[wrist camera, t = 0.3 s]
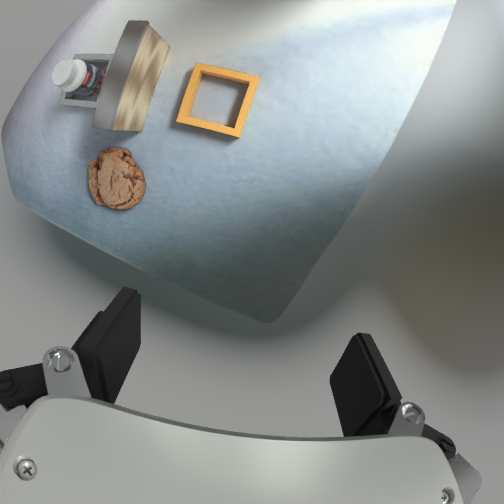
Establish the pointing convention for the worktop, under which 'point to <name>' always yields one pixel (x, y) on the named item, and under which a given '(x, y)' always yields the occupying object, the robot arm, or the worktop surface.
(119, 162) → the cookie
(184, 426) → the robot arm
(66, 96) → the collar
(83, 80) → the pill bottle
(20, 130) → the worktop surface
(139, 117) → the beige brown upright block
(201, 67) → the collar
